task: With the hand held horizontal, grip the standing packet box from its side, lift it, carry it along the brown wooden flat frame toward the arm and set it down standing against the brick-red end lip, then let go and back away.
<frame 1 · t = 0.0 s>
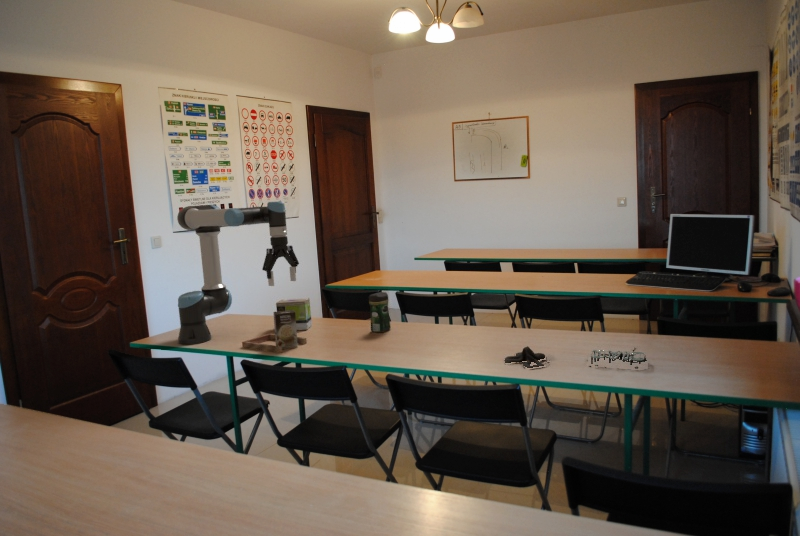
hand: (282, 283, 262), 28 cm above the table, tool pointing down, fingers open, 13 cm apart
coffee box: (286, 347, 260), on the table
brown wooden flat frame: (275, 345, 264), on the table
tea box: (295, 328, 296), on the table
neon sign: (618, 359, 217), on the table
cloth: (530, 362, 220), on the table
coffee jar: (380, 331, 281), on the table
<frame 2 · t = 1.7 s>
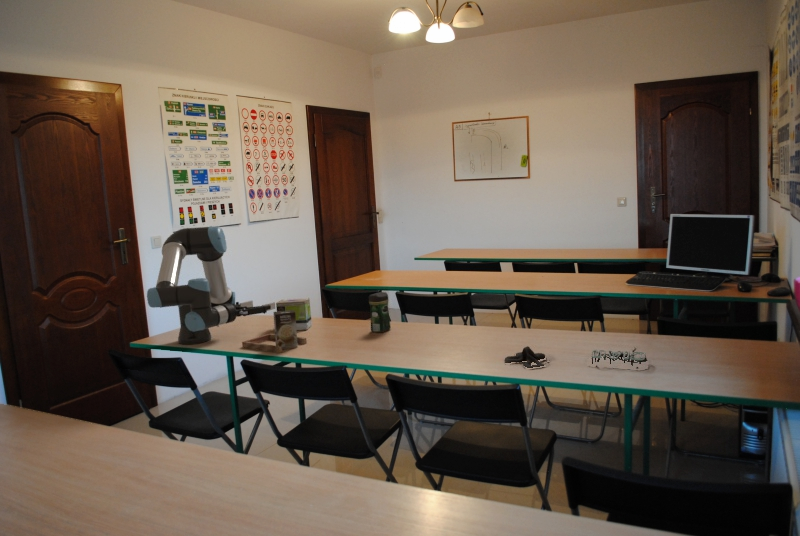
hand: (263, 304, 247), 22 cm above the table, tool horizontal, fingers open, 13 cm apart
nothing on the table moved.
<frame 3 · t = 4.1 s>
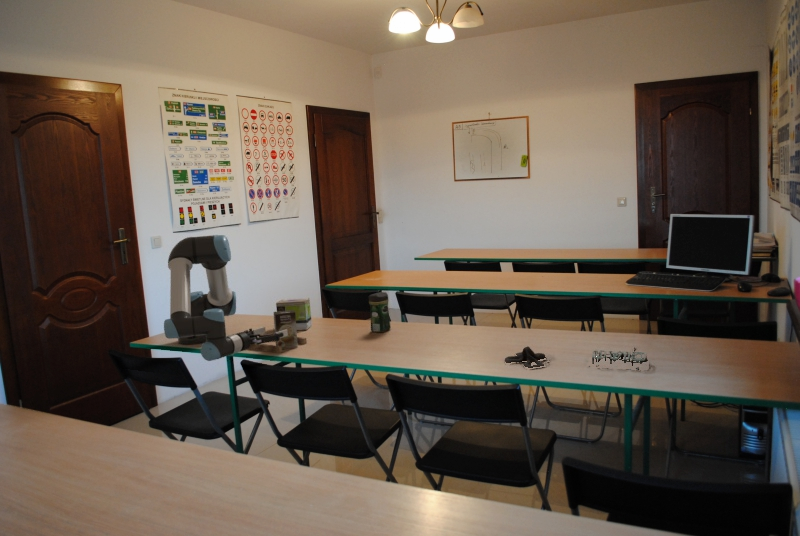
hand: (275, 331, 253), 9 cm above the table, tool horizontal, fingers open, 13 cm apart
nothing on the table moved.
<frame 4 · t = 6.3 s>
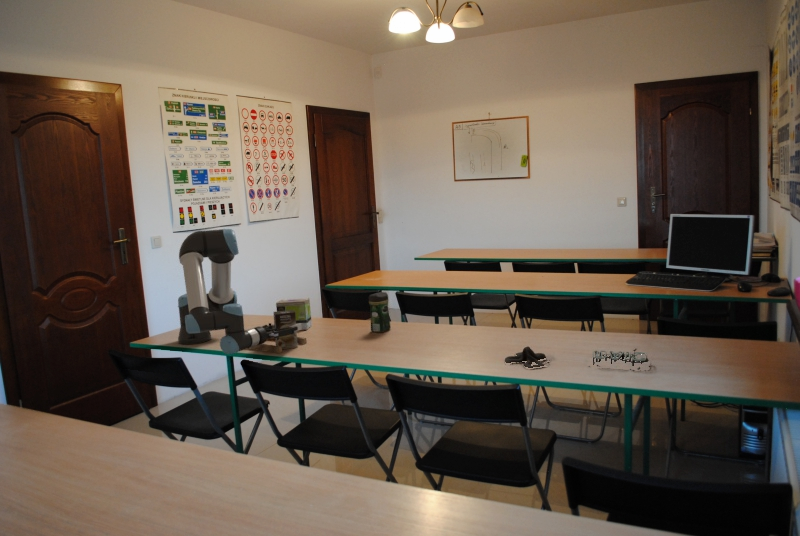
hand: (292, 325, 262), 9 cm above the table, tool horizontal, fingers closed on coffee box, 10 cm apart
coffee box: (286, 347, 260), on the table, touching gripper
everything else where it was.
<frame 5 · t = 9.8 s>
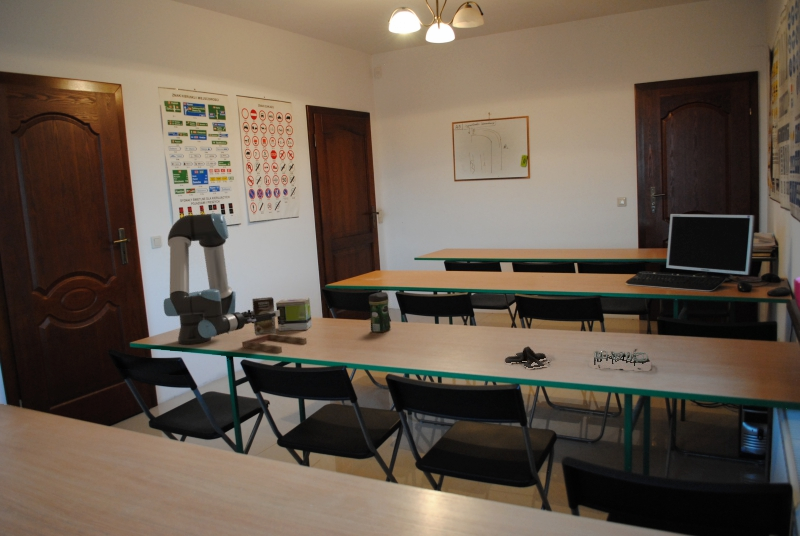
hand: (270, 312, 268), 14 cm above the table, tool horizontal, fingers closed on coffee box, 10 cm apart
coffee box: (265, 333, 266), point 5 cm above the table, touching gripper
when the fingers open (10 cm above the table, at t = 11.7 s): coffee box drops 1 cm, on the table.
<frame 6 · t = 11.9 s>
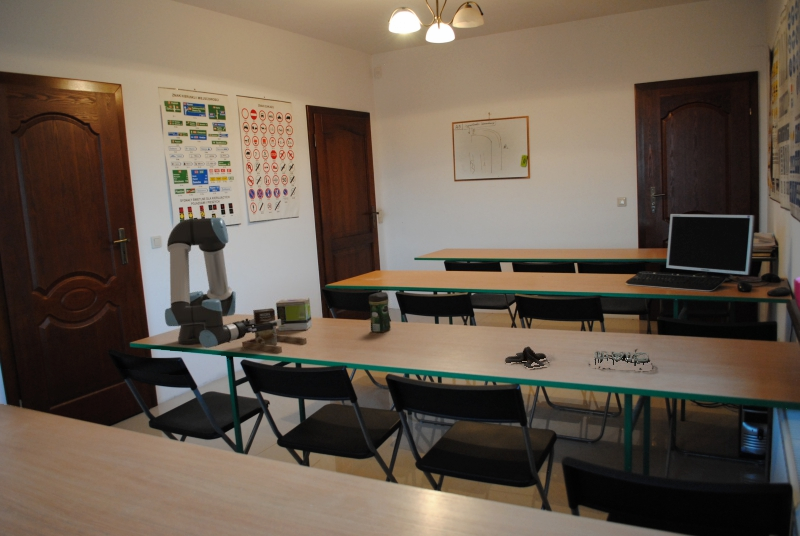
hand: (270, 320, 268), 10 cm above the table, tool horizontal, fingers open, 12 cm apart
coffee box: (266, 344, 267), on the table
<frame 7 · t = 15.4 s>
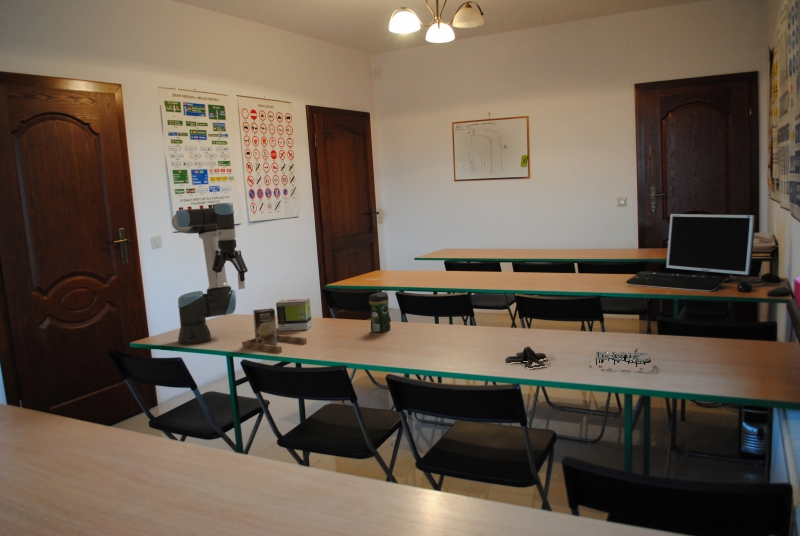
hand: (231, 287, 252), 29 cm above the table, tool pointing down, fingers open, 13 cm apart
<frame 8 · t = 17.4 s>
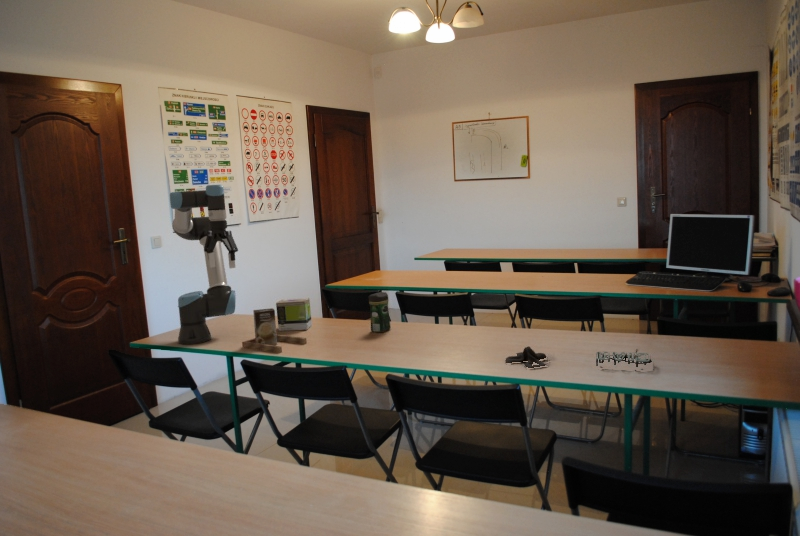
hand: (222, 267, 260), 37 cm above the table, tool pointing down, fingers open, 13 cm apart
at the end: coffee box inside the target area (0.2 cm from its centre), on the table; coffee box tilted 0°; the gripper is holding nothing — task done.
